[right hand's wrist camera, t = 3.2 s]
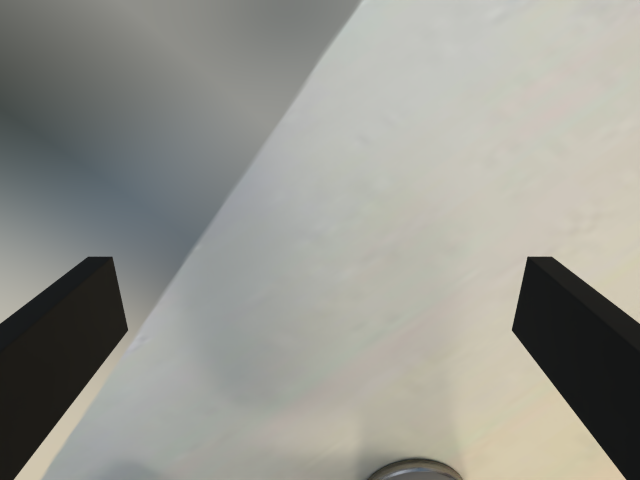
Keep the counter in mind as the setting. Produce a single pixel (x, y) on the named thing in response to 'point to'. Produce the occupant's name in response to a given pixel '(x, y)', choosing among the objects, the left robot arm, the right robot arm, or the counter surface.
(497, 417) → the counter surface
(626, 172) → the counter surface
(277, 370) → the counter surface
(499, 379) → the counter surface
